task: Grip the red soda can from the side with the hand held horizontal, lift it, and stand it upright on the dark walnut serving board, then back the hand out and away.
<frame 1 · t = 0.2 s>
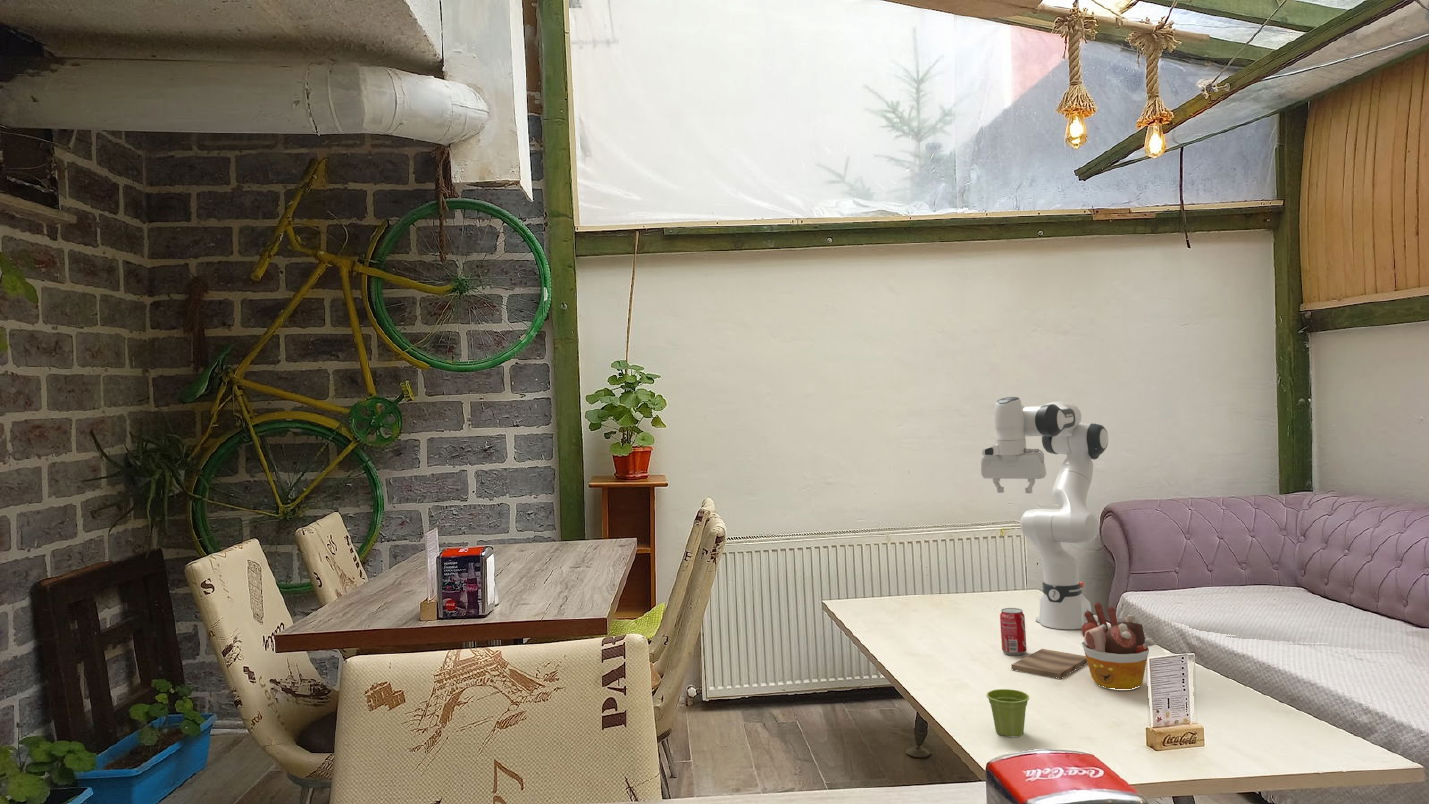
hand: (1014, 493, 270), 48 cm above the table, tool pointing down, fingers open, 8 cm apart
soda can: (1014, 653, 262), on the table
bucket of meat: (1116, 684, 230), on the table
plant pot: (1009, 733, 200), on the table
walnut board: (1050, 665, 248), on the table
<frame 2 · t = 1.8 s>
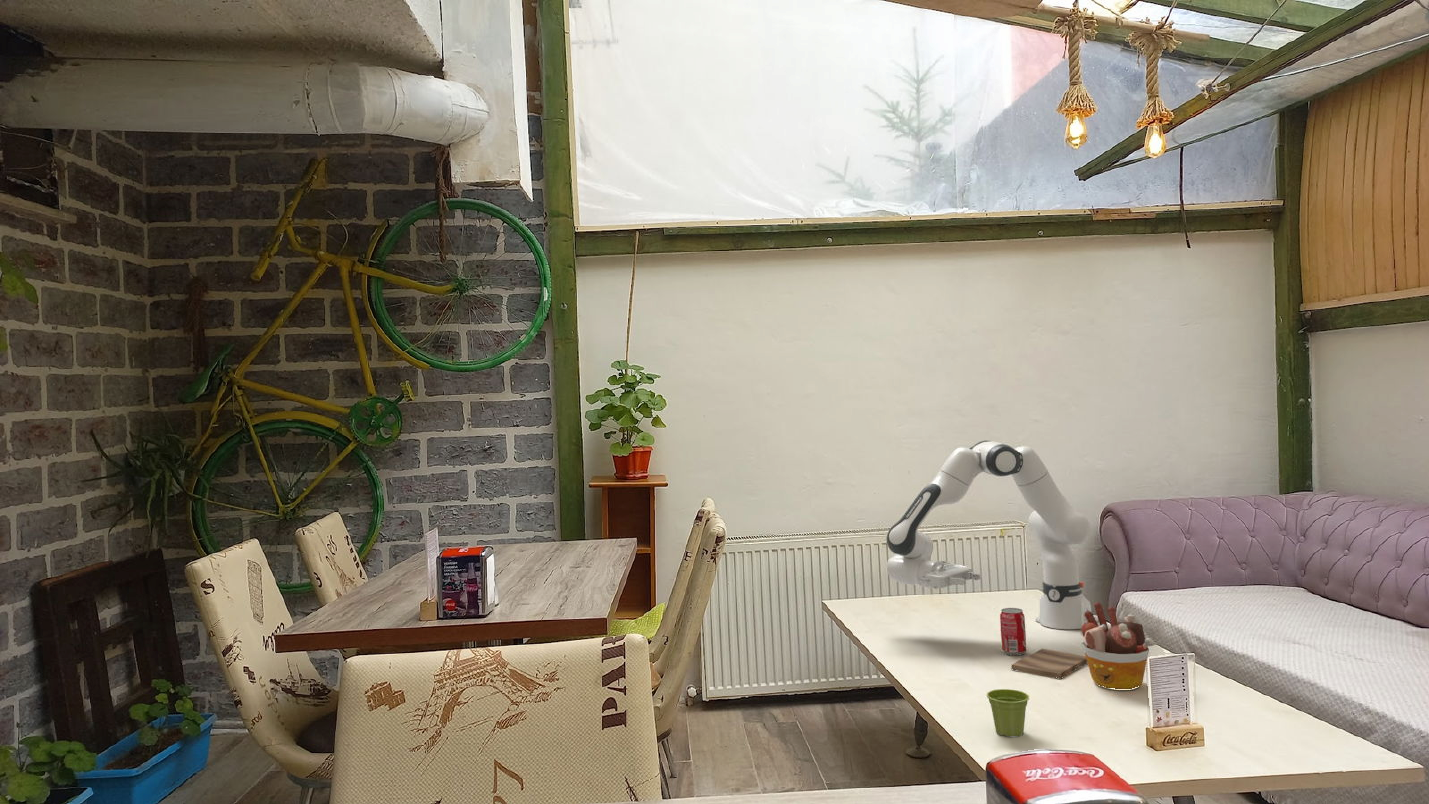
hand: (972, 579, 271), 21 cm above the table, tool horizontal, fingers open, 8 cm apart
nothing on the table moved.
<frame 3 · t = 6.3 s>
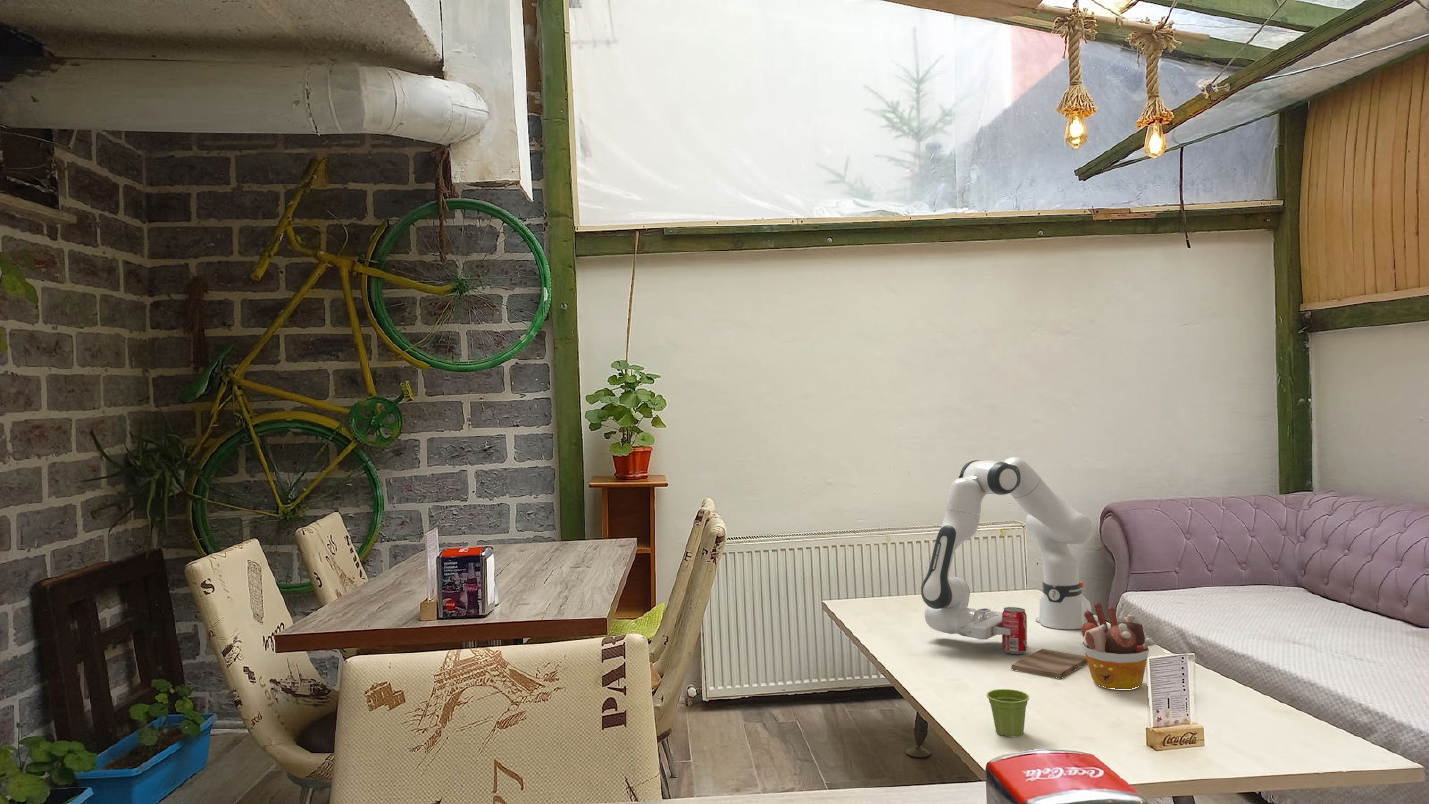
hand: (1015, 629, 261), 7 cm above the table, tool horizontal, fingers open, 4 cm apart
soda can: (1014, 652, 262), on the table, touching gripper
everything else where it was.
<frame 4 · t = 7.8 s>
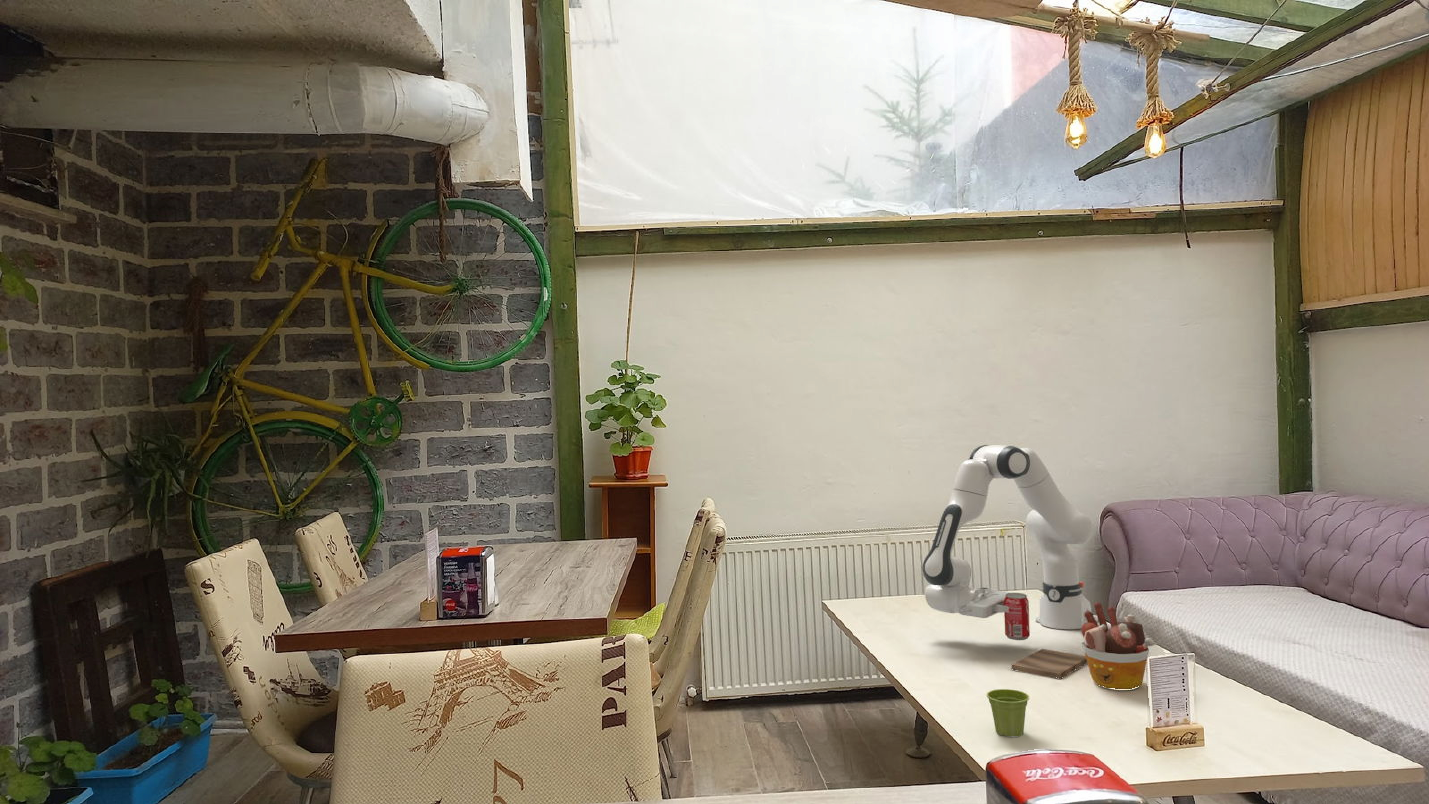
hand: (1015, 608, 261), 14 cm above the table, tool horizontal, fingers closed on soda can, 3 cm apart
soda can: (1017, 638, 262), point 4 cm above the table, touching gripper
everything else where it was.
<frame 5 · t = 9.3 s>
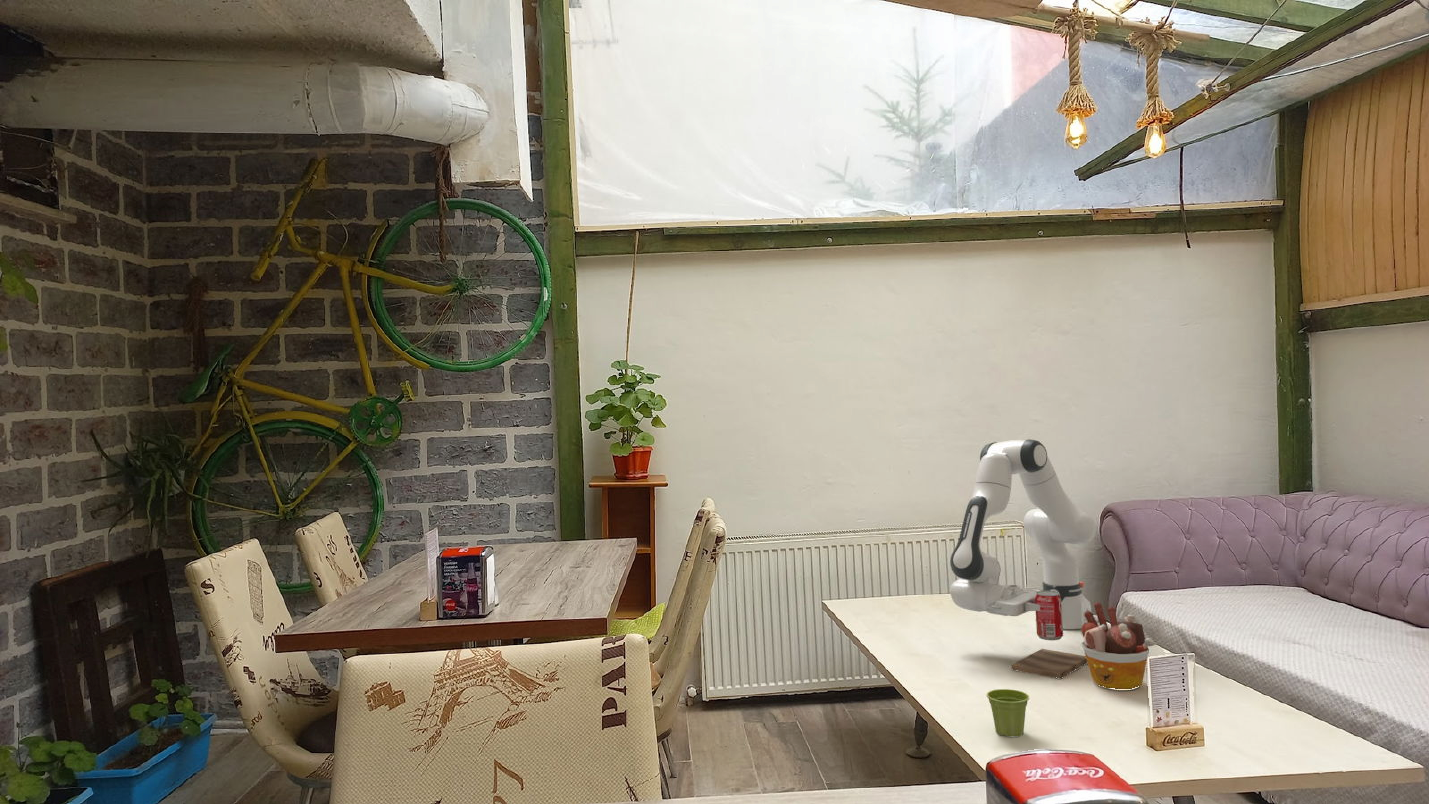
hand: (1047, 606, 248), 17 cm above the table, tool horizontal, fingers closed on soda can, 3 cm apart
soda can: (1049, 638, 248), point 8 cm above the table, touching gripper
everything else where it was.
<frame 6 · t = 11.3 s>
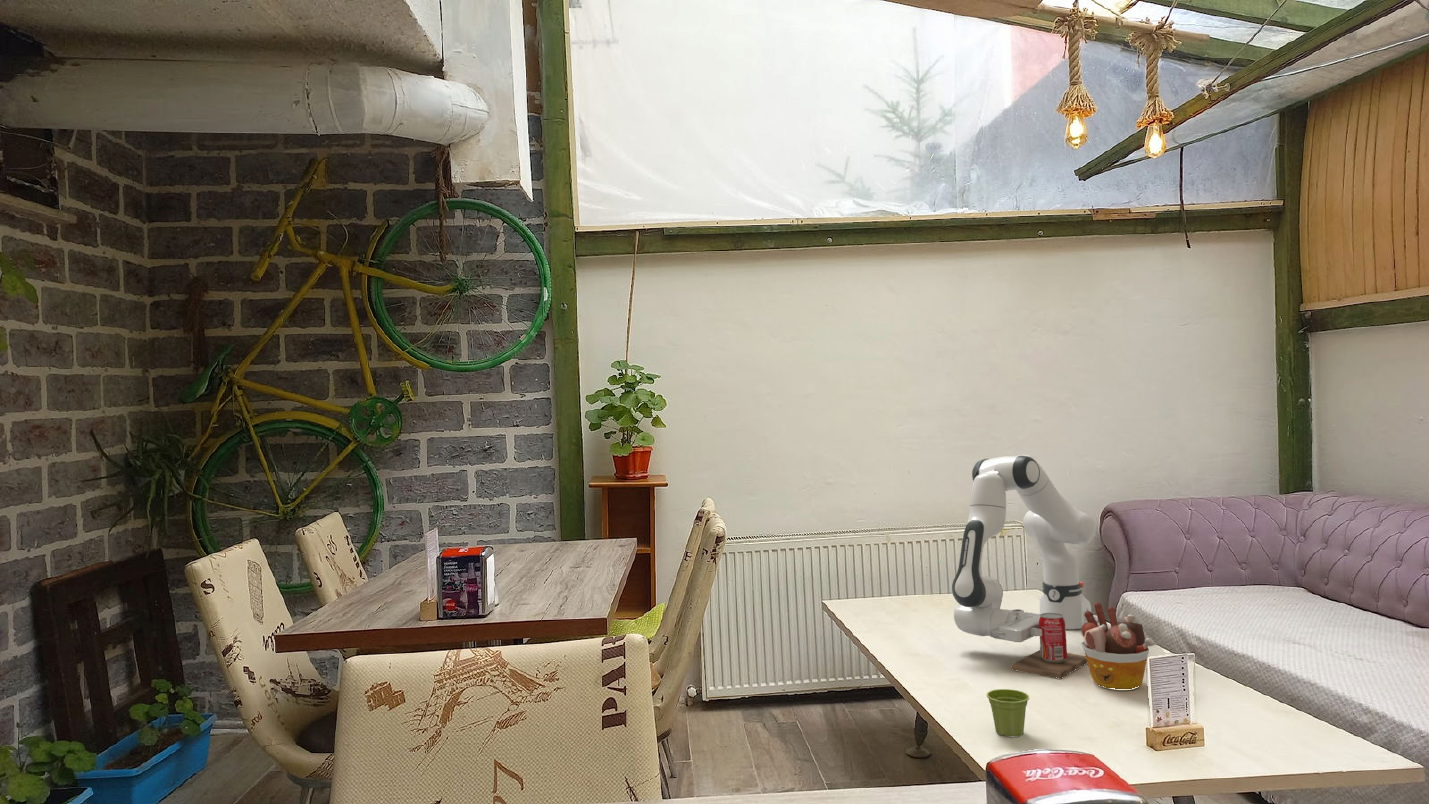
hand: (1051, 632, 247), 10 cm above the table, tool horizontal, fingers closed on soda can
soda can: (1054, 661, 248), point 1 cm above the table, touching gripper
everything else where it was.
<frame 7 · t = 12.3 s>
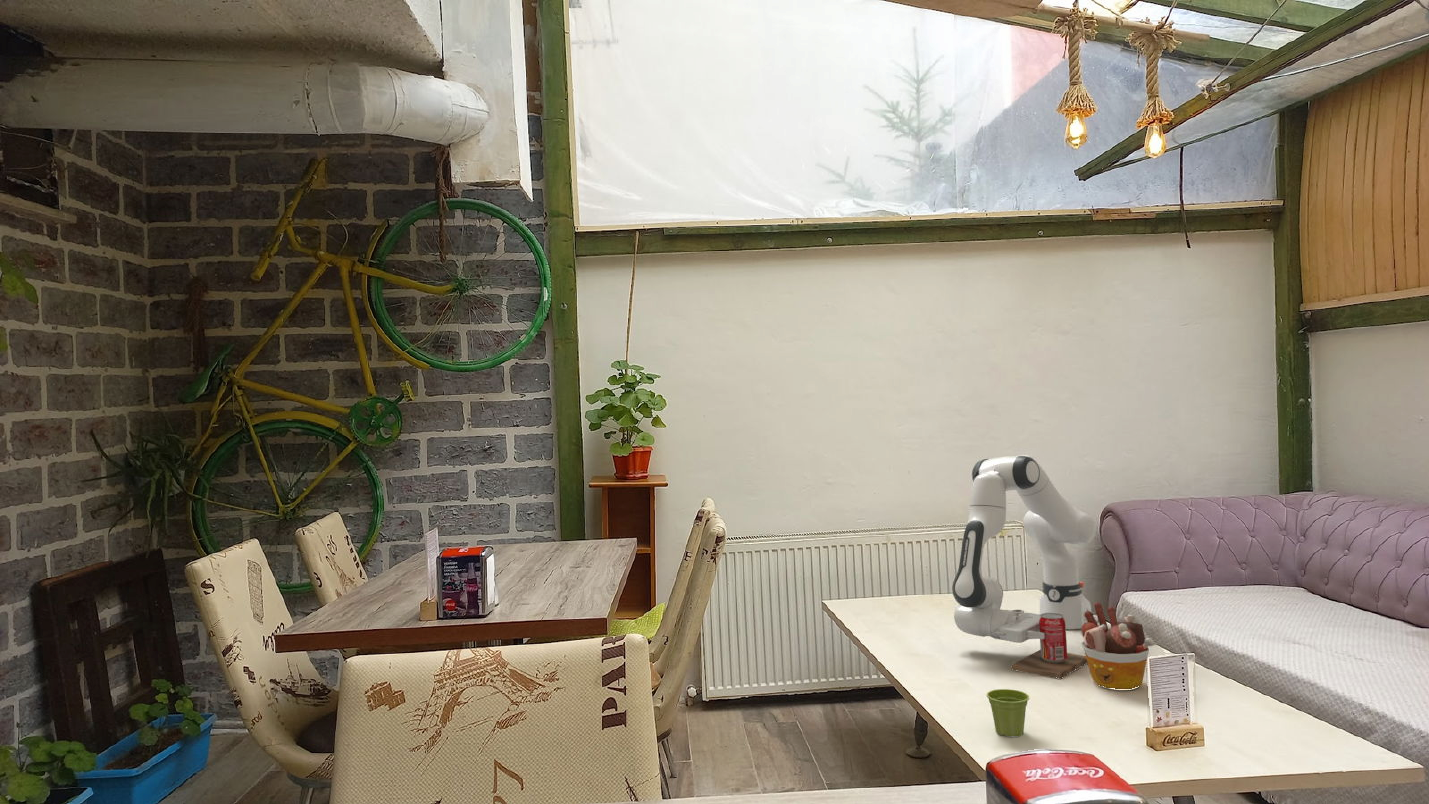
hand: (1052, 632, 247), 10 cm above the table, tool horizontal, fingers open, 8 cm apart
soda can: (1054, 661, 248), point 1 cm above the table, touching walnut board
everything else where it was.
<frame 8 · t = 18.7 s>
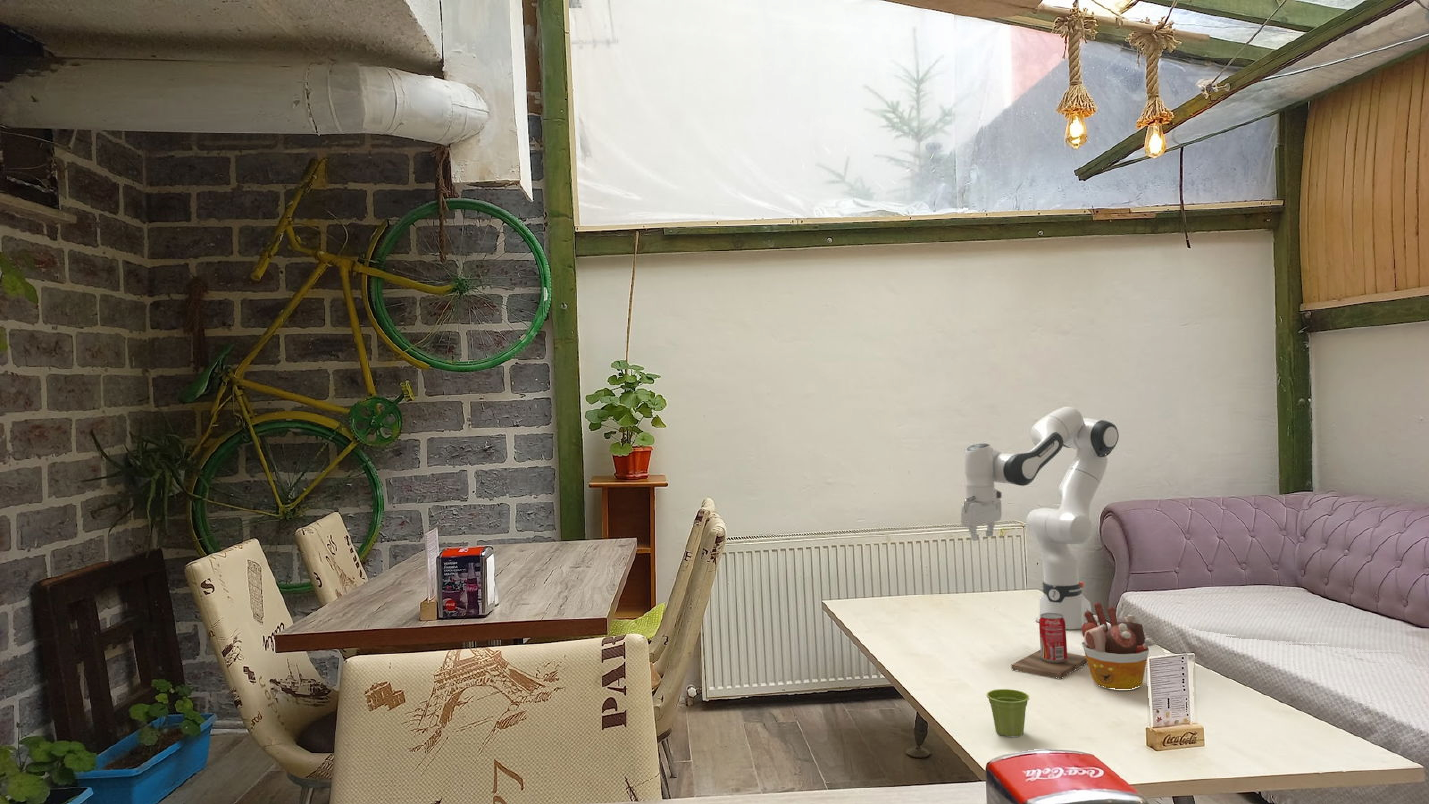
hand: (982, 538, 275), 33 cm above the table, tool pointing down, fingers open, 8 cm apart
nothing on the table moved.
at the end: soda can inside the target area on the walnut board (1.1 cm from its centre), point 1.3 cm above the walnut board's base; soda can tilted 0°; the gripper is holding nothing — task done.
